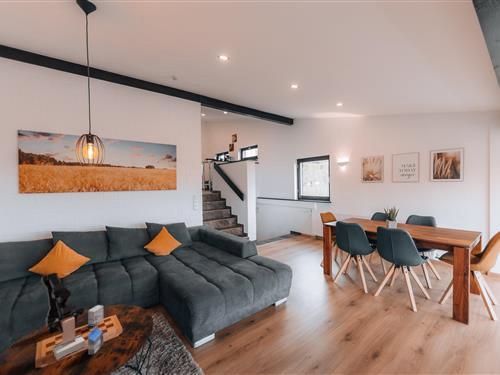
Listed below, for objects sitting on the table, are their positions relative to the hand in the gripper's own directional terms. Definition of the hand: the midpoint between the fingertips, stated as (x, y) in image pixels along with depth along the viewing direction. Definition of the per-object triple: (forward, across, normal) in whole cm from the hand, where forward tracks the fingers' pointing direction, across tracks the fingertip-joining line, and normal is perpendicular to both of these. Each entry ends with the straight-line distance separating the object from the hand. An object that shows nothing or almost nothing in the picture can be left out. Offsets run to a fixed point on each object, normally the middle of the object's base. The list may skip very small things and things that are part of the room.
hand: (69, 330), depth 143 cm
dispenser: (+8, 0, +10) cm, 13 cm away
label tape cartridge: (+18, +10, +1) cm, 20 cm away
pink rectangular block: (+4, 0, +6) cm, 7 cm away
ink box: (-3, +20, +21) cm, 30 cm away
